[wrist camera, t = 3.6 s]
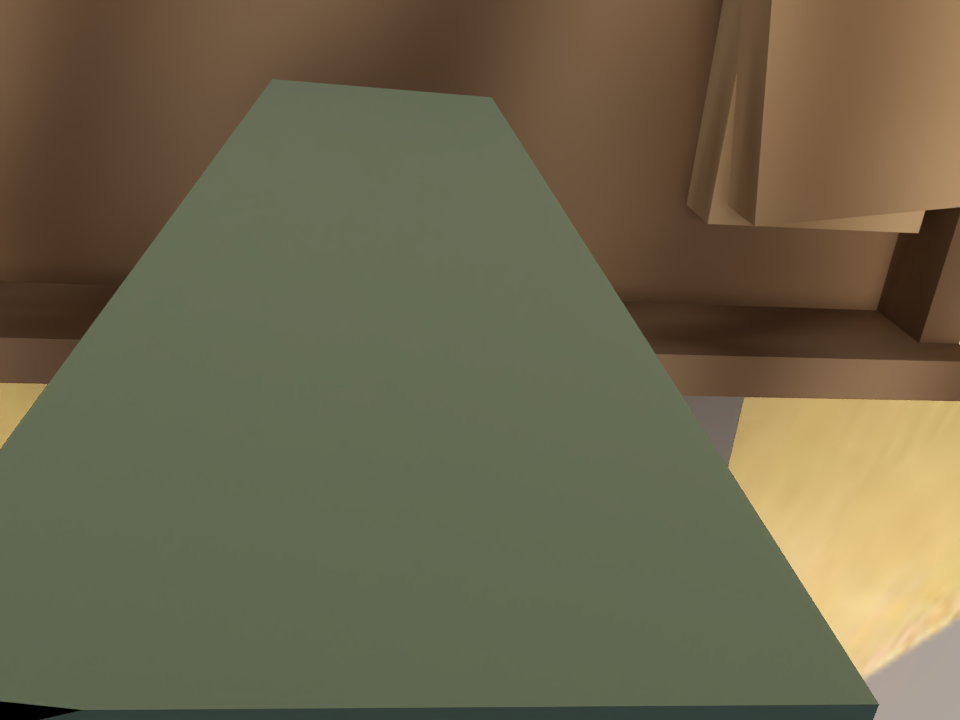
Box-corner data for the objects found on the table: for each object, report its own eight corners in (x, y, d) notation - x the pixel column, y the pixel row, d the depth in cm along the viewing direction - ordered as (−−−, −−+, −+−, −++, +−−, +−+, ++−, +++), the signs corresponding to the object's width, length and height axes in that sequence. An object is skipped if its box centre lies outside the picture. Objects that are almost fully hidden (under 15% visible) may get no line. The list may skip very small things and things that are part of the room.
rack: (1064, -241, 18) (1326, -307, 13) (889, 337, 24) (1027, 446, 19) (-213, -393, 15) (-505, -554, 10) (-68, 309, 21) (-211, 431, 16)
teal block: (492, 96, 10) (881, 702, 2) (444, 575, 13) (539, 1567, 5) (272, 78, 10) (-195, 713, 2) (274, 573, 13) (97, 1626, 5)
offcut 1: (960, -59, 19) (1005, -58, 18) (884, 214, 21) (918, 233, 20) (737, -79, 18) (765, -79, 17) (686, 205, 21) (707, 223, 20)
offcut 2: (964, -83, 17) (1014, -85, 16) (921, 188, 20) (961, 206, 18) (745, -67, 17) (777, -67, 16) (728, 206, 19) (754, 226, 18)
